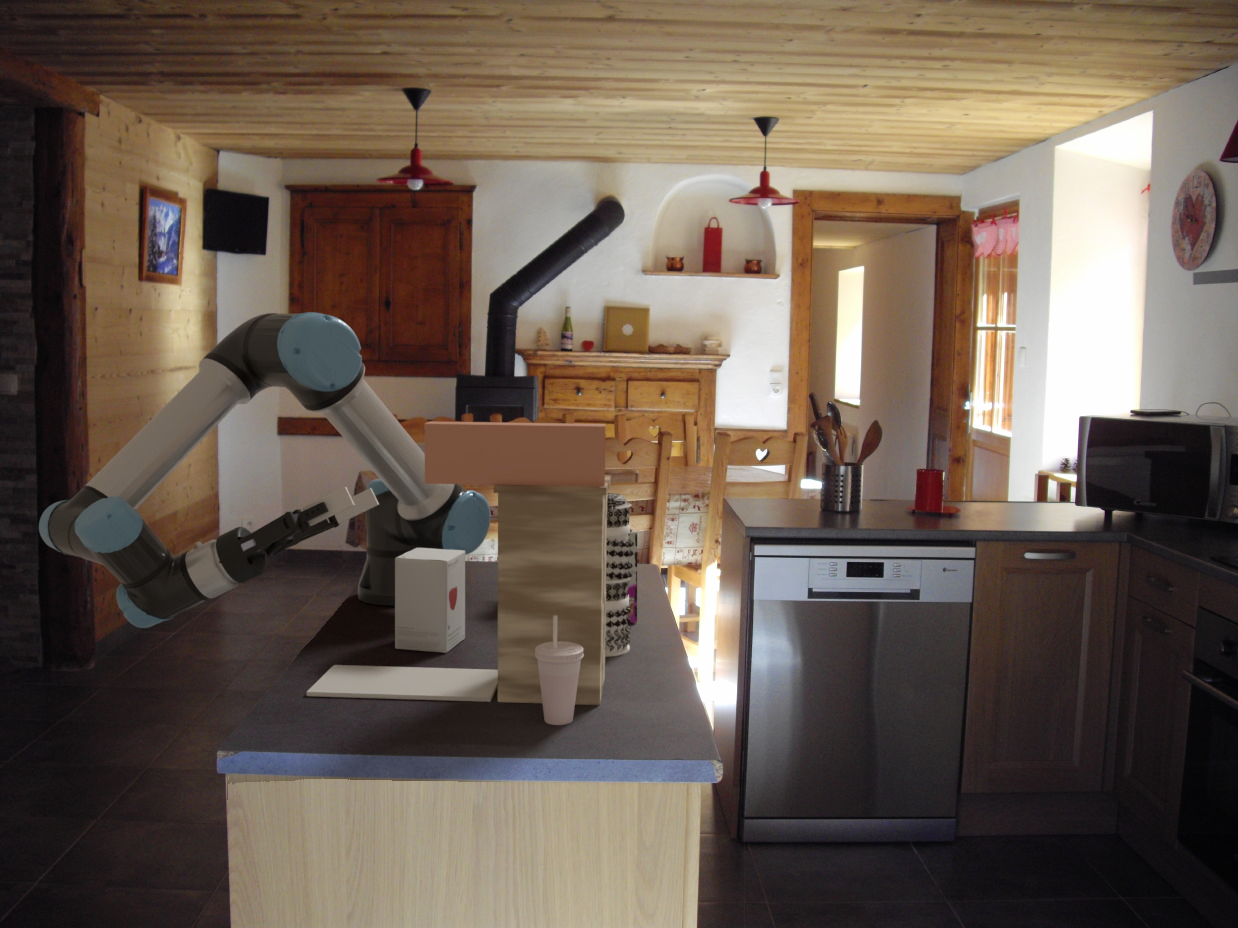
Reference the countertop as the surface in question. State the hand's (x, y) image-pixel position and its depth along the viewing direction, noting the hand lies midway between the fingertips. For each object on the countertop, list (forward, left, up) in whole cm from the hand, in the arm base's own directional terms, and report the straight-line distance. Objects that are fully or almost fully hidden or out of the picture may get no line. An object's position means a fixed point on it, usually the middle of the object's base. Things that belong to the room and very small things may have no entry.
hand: (363, 495), depth 149 cm
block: (+6, +23, +3) cm, 23 cm away
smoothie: (+14, +30, -27) cm, 42 cm away
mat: (+2, +7, -27) cm, 28 cm away
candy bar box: (-33, +33, -27) cm, 54 cm away
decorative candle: (-18, +34, -27) cm, 47 cm away
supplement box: (-18, +6, -27) cm, 33 cm away
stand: (+2, +28, -27) cm, 38 cm away
